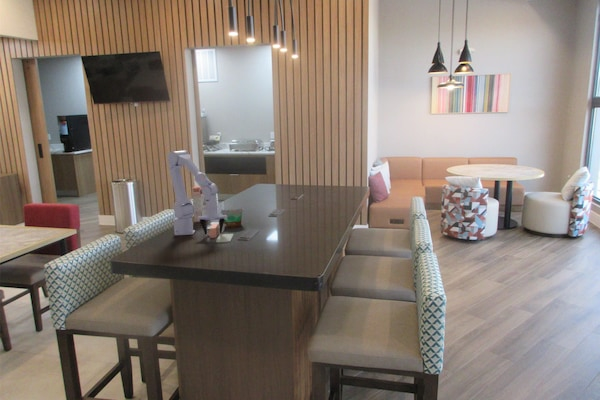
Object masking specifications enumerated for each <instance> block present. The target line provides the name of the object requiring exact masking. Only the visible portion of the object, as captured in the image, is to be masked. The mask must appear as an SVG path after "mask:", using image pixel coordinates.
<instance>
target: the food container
mask: <svg viewBox="0 0 600 400" xmlns="http://www.w3.org/2000/svg"><path fill="white" fill-rule="evenodd" d="M220 213H221V215H227V219H226V220H225V221H224V228H227V227H228V228H229V229H230V228H231V229H232V228H233V227H235V228H239V227H241V226H242V218H243V217H242V215H243V213H244V210H243V208H242V207H240V208H239V209H236V208H235V209H232V208H231V209H228V210H225V209H221V211H220ZM233 229H234V228H233Z"/></svg>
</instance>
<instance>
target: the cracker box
mask: <svg viewBox="0 0 600 400" xmlns="http://www.w3.org/2000/svg"><path fill="white" fill-rule="evenodd" d="M191 193H192V195H191V196H192V205H193V206H194V209H195V211H194V213H193V221H194V223H200V221H198V216H206V204H205V199H204V195H203V193H202V188H201V187H200V186H199V185H196V186H194V187H191Z"/></svg>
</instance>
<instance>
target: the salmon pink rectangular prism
mask: <svg viewBox="0 0 600 400" xmlns="http://www.w3.org/2000/svg"><path fill="white" fill-rule="evenodd" d="M209 227H210V226H209ZM209 227H208V228H209ZM218 228H219V224H212V225H211V227H210V228H209V232H210V236H209V238H210V239H213V238H218V236H219V231H218Z"/></svg>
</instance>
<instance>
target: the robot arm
mask: <svg viewBox="0 0 600 400" xmlns="http://www.w3.org/2000/svg"><path fill="white" fill-rule="evenodd" d="M166 157H167V163H168V171H169V175H170V179H171V182H172V187H173V190H174V195H175V199H176V201H175V202H174V204H173V209H174V210H173V213H174V215H175V217H174V218H173V230H174V236H188V235H189V236H191V235H194V233H195V232H196V230H195V229H194V223H193V217H194V211H195V209H194V206H193V201H192V199H189V198H188V195H187V192H186V187H185V184H184V180H183V175H182V172H181V169H182V167H183V166H184V167H186V169H187V170H188V171H189V172H190V173H191V174H192V175H193V177H194V181H195V182H196V184H197V186H200V187H201V188H202V193H203V195H204V199H205V204H206V216H198V221H200V222H199V224H200V226H201V227H202V229H203V231H204V235H208V234H207V229H208V228H207V221H215V220H217V221H218V222H219V225H220V234H221V233H222V227H223V224H224V221H225V220H226V219H227V215H222V214H219V213H218V200H217V194H218V192H219V187H218V185H217V184H216V183H214V182H212V181H211V180H210V179H209V178H208V177H207V174H206V173H205V172H201V171H200V170H199V169H198V167H197V166H196V164H195V162H194V161H193V160H192V155H191V154H190V153H189V151H187V150H185V149H182V150H177V151H176V150H175V151H170V152H169V153H168V155H167V156H166ZM222 234H223V233H222Z"/></svg>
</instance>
